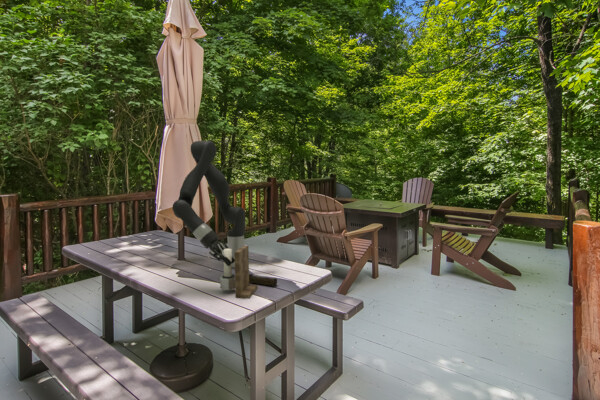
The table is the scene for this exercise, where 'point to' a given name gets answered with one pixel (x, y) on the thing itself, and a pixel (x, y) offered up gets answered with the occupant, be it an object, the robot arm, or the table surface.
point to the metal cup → (227, 282)
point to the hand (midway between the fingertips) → (232, 263)
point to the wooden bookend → (243, 274)
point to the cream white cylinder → (226, 268)
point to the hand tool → (262, 280)
